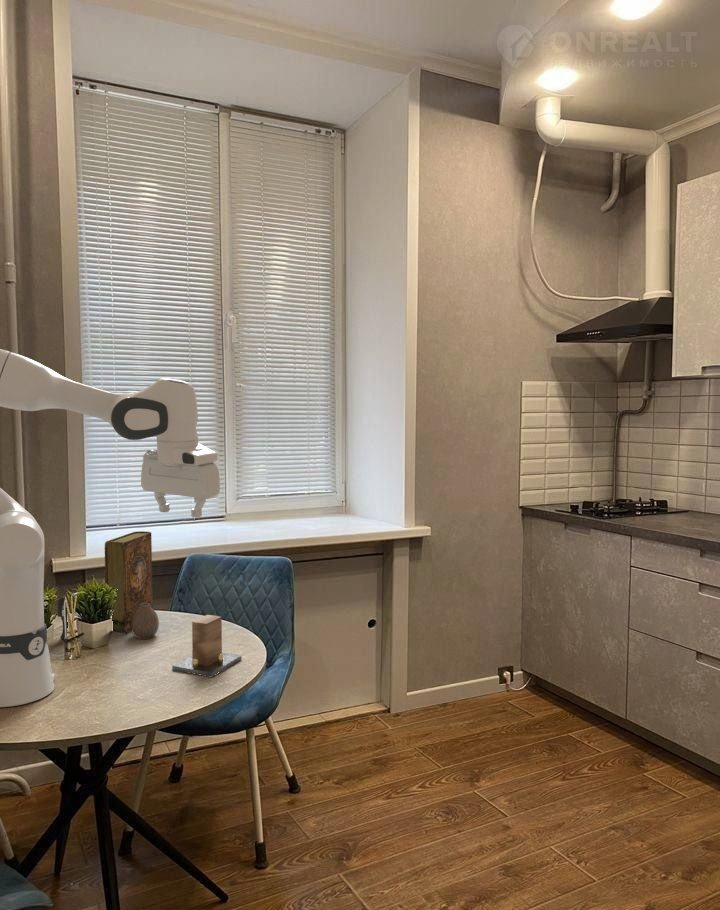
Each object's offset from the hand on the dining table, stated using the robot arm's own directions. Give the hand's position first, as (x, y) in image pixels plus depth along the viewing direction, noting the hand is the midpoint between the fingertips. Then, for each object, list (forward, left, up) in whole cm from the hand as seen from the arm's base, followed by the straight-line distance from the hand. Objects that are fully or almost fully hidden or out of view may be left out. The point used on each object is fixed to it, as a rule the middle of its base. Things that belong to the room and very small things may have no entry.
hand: (180, 514), depth 154 cm
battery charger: (-44, +10, -37) cm, 59 cm away
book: (-36, +24, -37) cm, 58 cm away
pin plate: (+1, +8, -37) cm, 38 cm away
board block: (+1, +8, -36) cm, 37 cm away
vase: (-26, +18, -37) cm, 49 cm away
